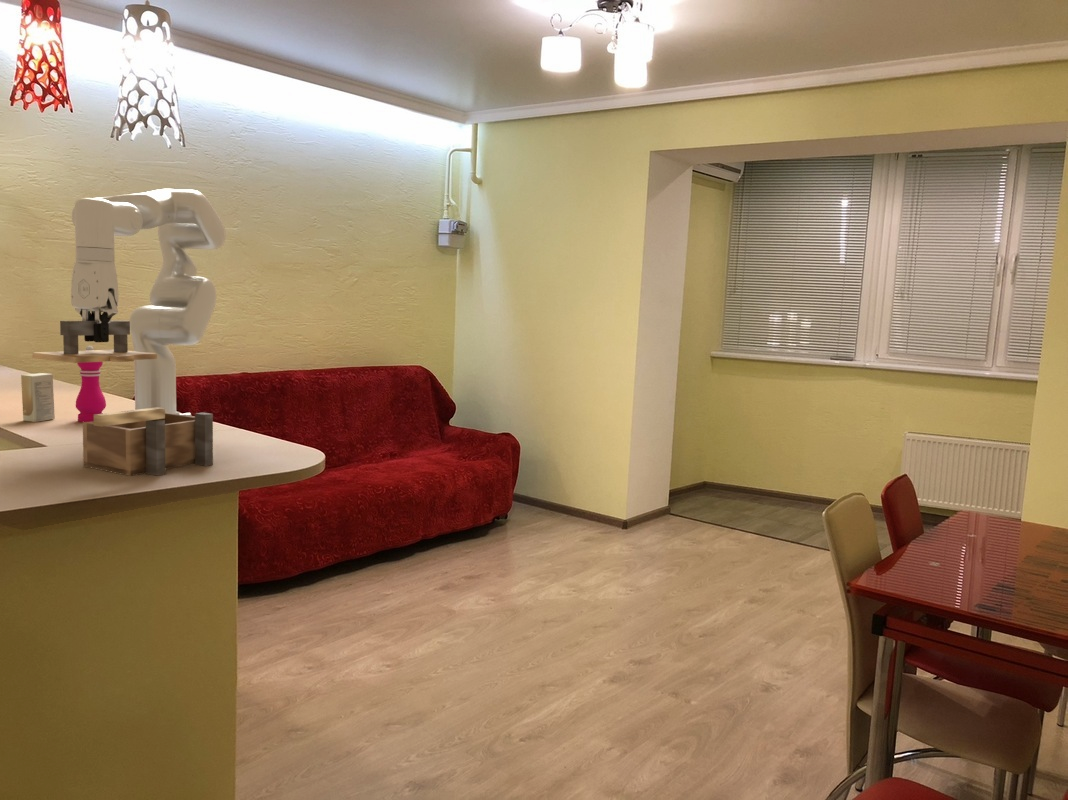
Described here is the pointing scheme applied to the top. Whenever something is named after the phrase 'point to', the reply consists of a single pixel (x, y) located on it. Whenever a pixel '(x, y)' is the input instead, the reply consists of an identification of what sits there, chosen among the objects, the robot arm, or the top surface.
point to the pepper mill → (90, 391)
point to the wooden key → (129, 416)
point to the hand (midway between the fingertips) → (96, 341)
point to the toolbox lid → (72, 354)
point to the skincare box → (37, 397)
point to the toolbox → (149, 444)
